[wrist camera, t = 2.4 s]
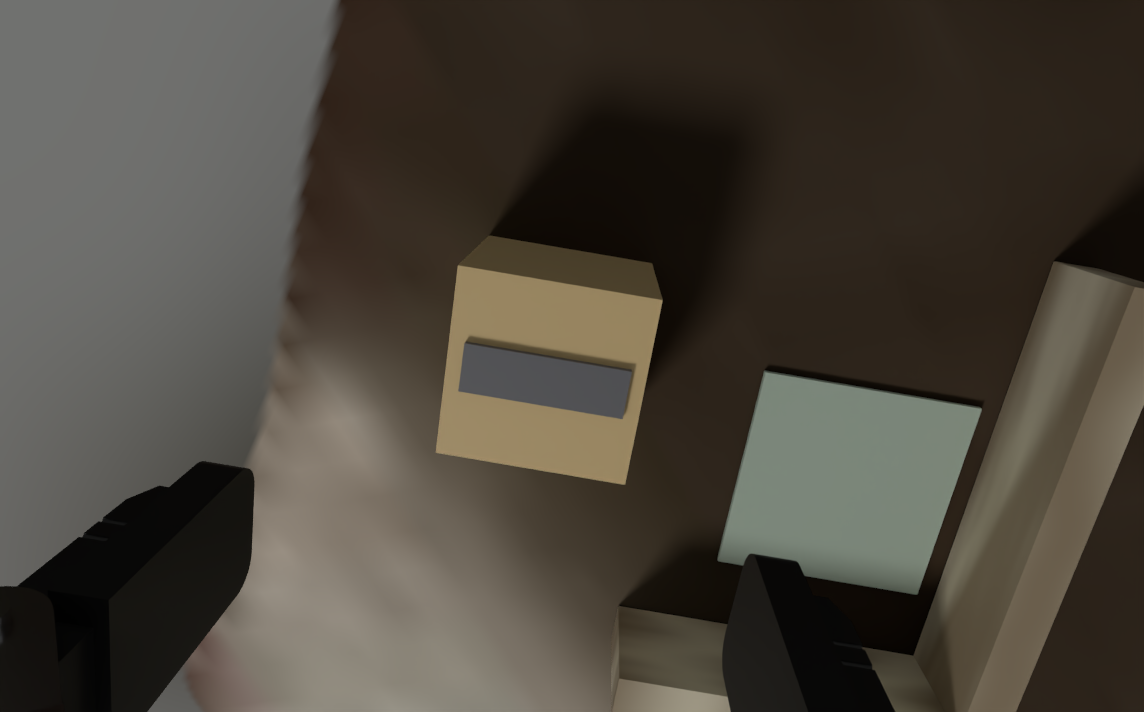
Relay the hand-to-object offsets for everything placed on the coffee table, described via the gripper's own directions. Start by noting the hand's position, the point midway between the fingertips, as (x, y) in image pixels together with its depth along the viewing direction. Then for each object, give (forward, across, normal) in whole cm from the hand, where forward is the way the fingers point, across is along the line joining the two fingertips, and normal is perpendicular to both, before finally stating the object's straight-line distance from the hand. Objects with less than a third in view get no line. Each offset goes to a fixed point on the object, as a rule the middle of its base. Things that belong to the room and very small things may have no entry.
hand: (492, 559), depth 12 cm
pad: (+14, -11, +4) cm, 19 cm away
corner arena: (+14, -10, +4) cm, 18 cm away
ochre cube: (+15, 0, 0) cm, 15 cm away
